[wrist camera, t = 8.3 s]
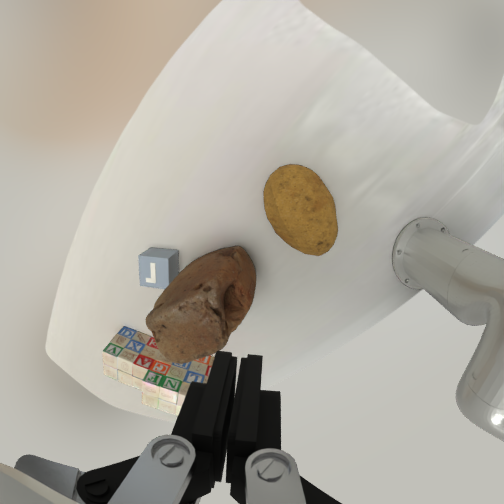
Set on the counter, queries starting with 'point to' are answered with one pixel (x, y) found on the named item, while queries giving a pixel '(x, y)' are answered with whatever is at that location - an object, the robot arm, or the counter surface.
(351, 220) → the counter surface
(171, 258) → the alphabet block
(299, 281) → the counter surface
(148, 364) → the stack of blocks
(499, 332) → the robot arm
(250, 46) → the counter surface
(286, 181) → the potato
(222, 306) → the brown rock
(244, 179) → the counter surface
